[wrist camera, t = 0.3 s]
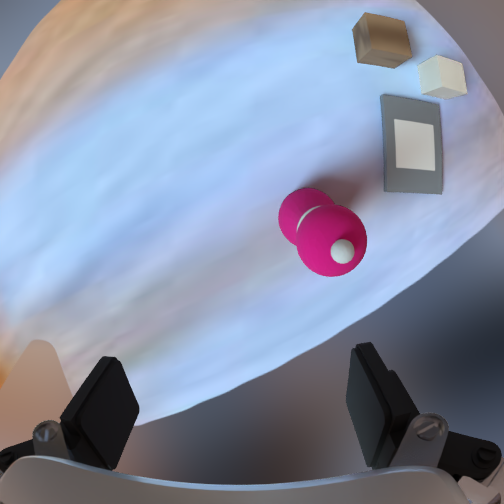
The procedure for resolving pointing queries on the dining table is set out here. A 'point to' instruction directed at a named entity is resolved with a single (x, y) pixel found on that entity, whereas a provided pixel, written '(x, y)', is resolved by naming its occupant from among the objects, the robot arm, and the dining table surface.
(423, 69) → the cream block
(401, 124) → the pad
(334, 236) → the pepper mill
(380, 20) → the walnut block
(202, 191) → the dining table surface
